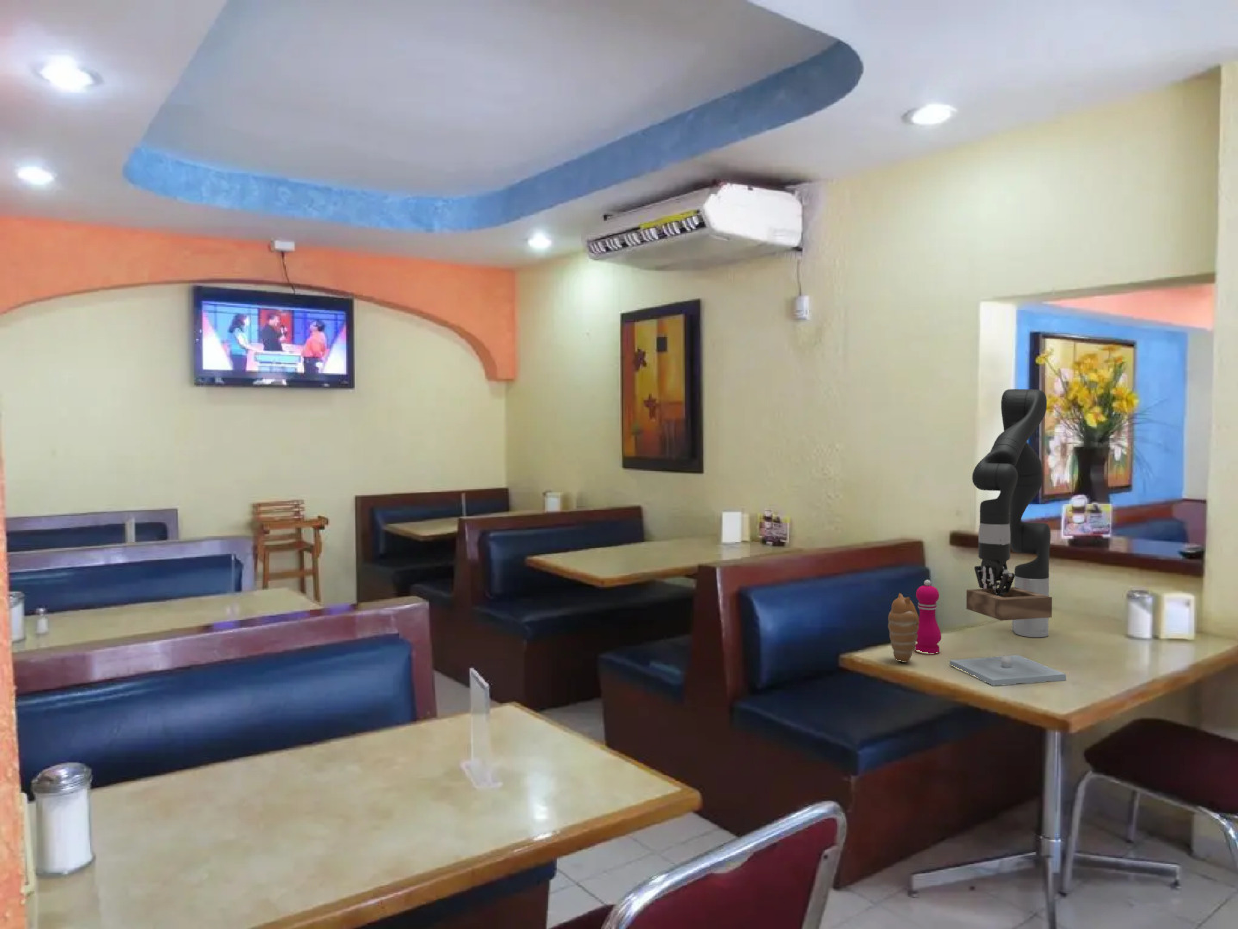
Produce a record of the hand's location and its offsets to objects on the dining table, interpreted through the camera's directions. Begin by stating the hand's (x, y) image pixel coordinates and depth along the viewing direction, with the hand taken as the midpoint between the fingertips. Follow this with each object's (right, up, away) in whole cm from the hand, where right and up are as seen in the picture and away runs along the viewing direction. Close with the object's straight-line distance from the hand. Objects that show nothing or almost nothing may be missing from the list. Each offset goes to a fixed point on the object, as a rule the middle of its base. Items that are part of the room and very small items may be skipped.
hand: (993, 607), depth 224 cm
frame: (+1, 0, -6) cm, 6 cm away
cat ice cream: (-22, -16, +6) cm, 27 cm away
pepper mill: (-11, -15, +16) cm, 25 cm away
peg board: (+1, -16, -5) cm, 16 cm away
